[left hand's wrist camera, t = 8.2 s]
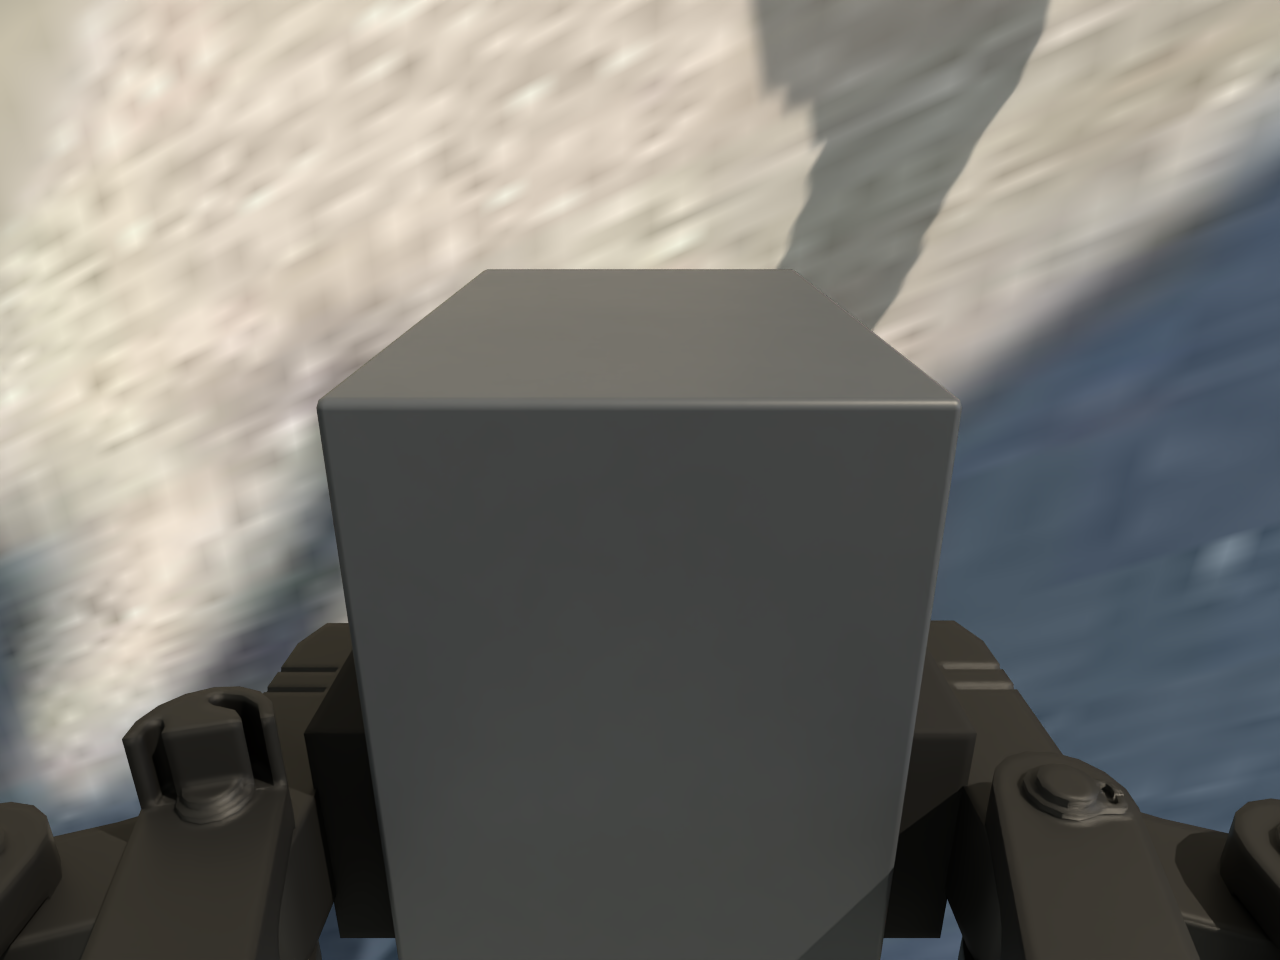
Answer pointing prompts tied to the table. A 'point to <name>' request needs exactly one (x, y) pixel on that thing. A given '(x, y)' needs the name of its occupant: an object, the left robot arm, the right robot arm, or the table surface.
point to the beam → (639, 613)
